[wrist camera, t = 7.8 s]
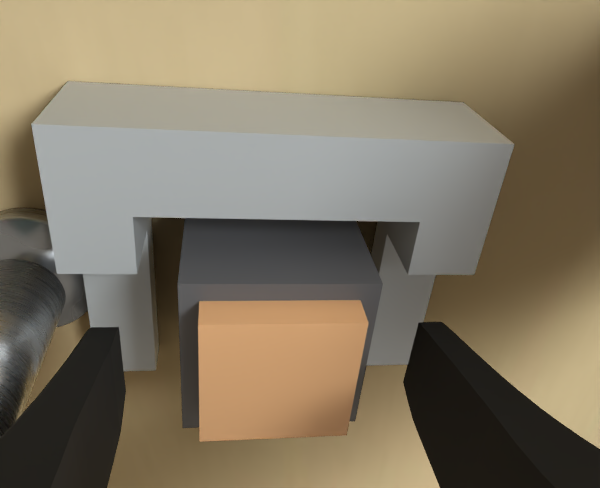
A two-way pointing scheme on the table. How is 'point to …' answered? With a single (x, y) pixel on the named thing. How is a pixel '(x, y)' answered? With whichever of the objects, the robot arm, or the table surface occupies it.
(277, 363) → the orange and grey block
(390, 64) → the table surface
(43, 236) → the door handle base
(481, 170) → the socket
